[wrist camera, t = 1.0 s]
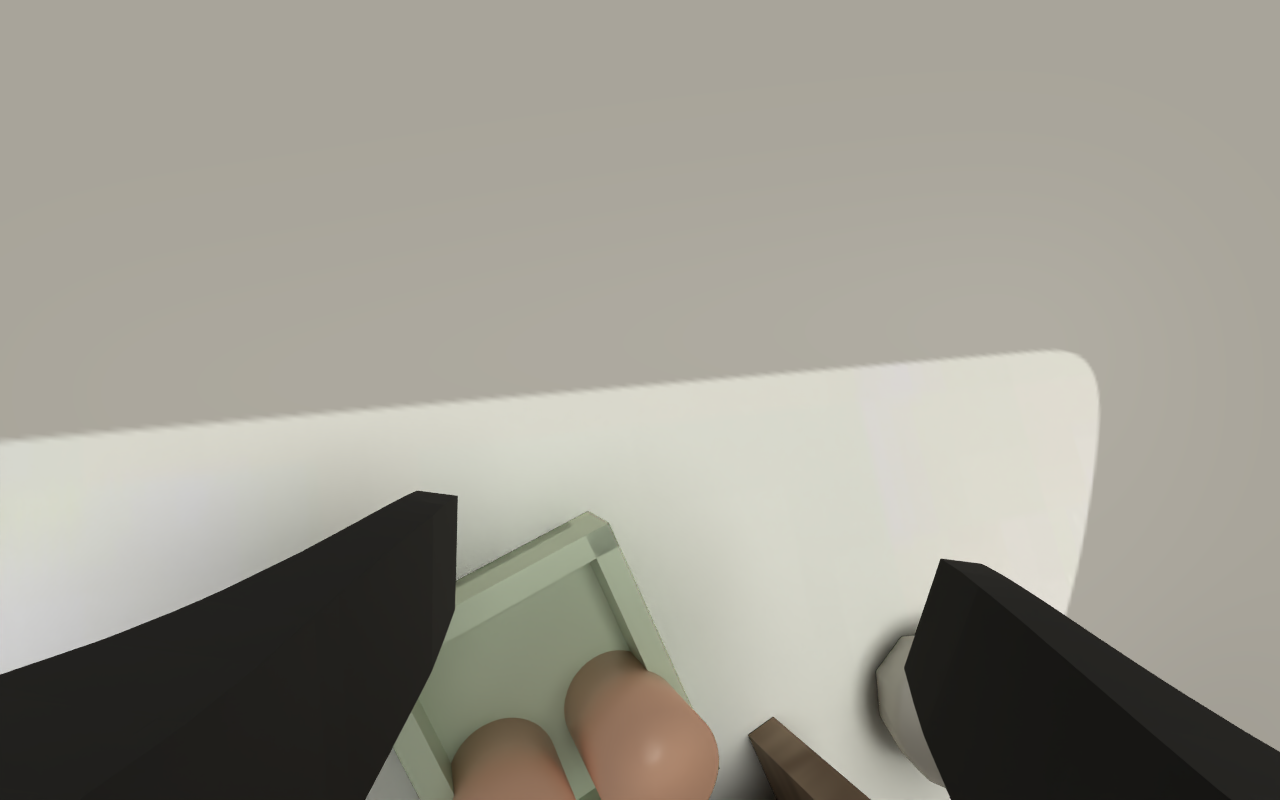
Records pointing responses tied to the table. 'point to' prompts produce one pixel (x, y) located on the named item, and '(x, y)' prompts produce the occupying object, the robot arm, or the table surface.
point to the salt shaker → (903, 710)
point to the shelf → (798, 767)
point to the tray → (556, 686)
